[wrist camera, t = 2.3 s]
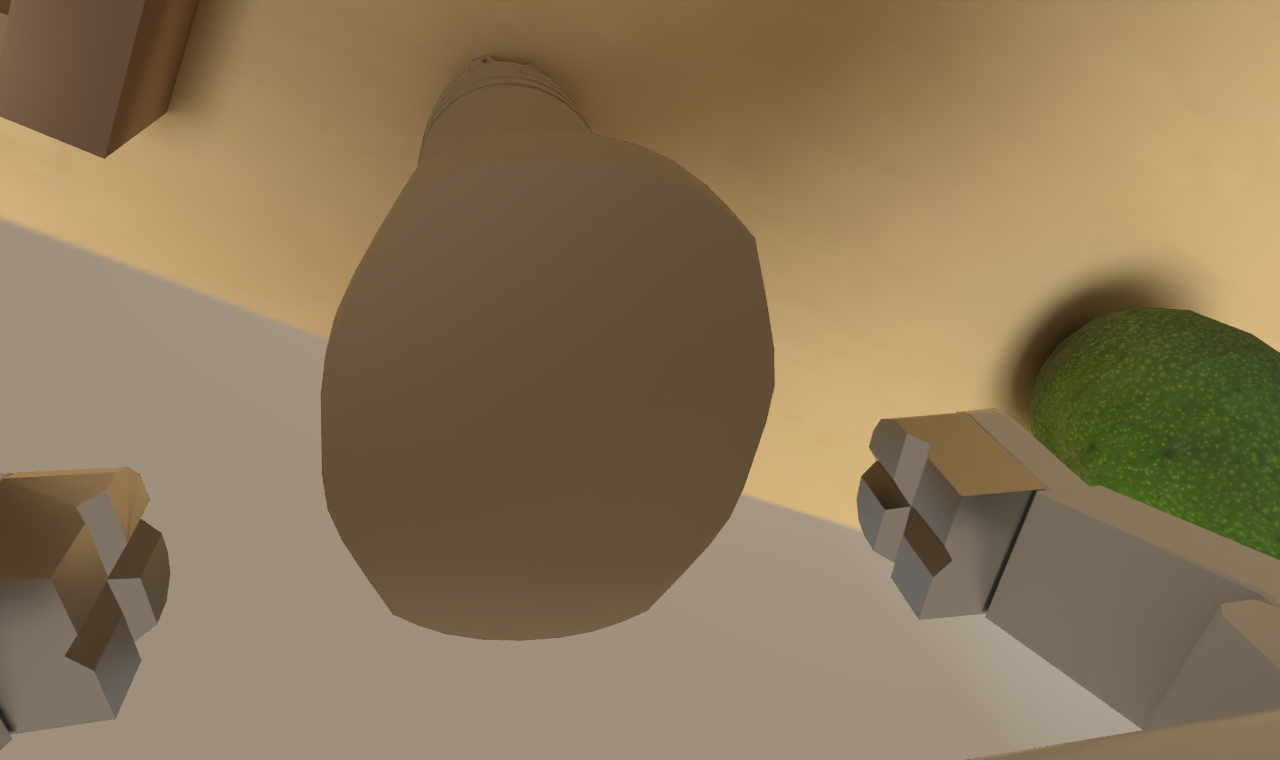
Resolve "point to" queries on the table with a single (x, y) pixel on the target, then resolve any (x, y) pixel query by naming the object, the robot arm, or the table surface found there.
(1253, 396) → the fruit
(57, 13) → the socket board
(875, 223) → the table surface
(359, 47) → the table surface
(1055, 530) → the robot arm
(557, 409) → the handle
